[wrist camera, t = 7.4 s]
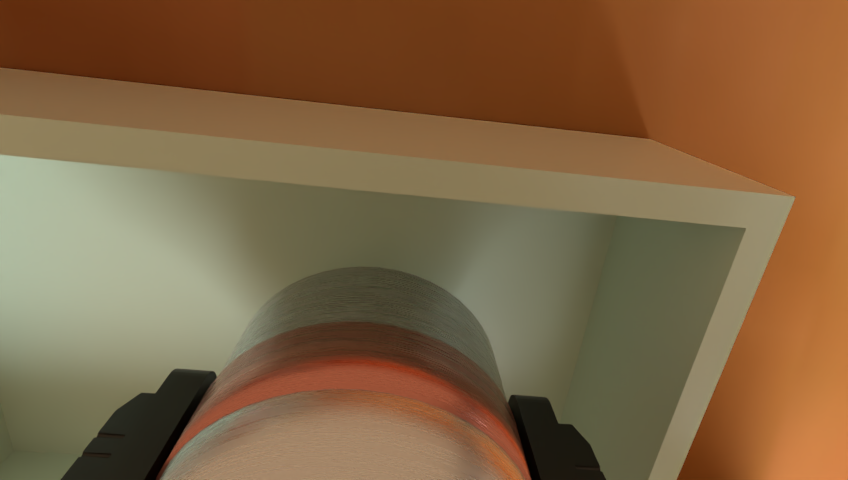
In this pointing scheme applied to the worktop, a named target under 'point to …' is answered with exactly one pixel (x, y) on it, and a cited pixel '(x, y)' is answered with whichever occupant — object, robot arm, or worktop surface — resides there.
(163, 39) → the worktop surface
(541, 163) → the tote
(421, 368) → the tin
